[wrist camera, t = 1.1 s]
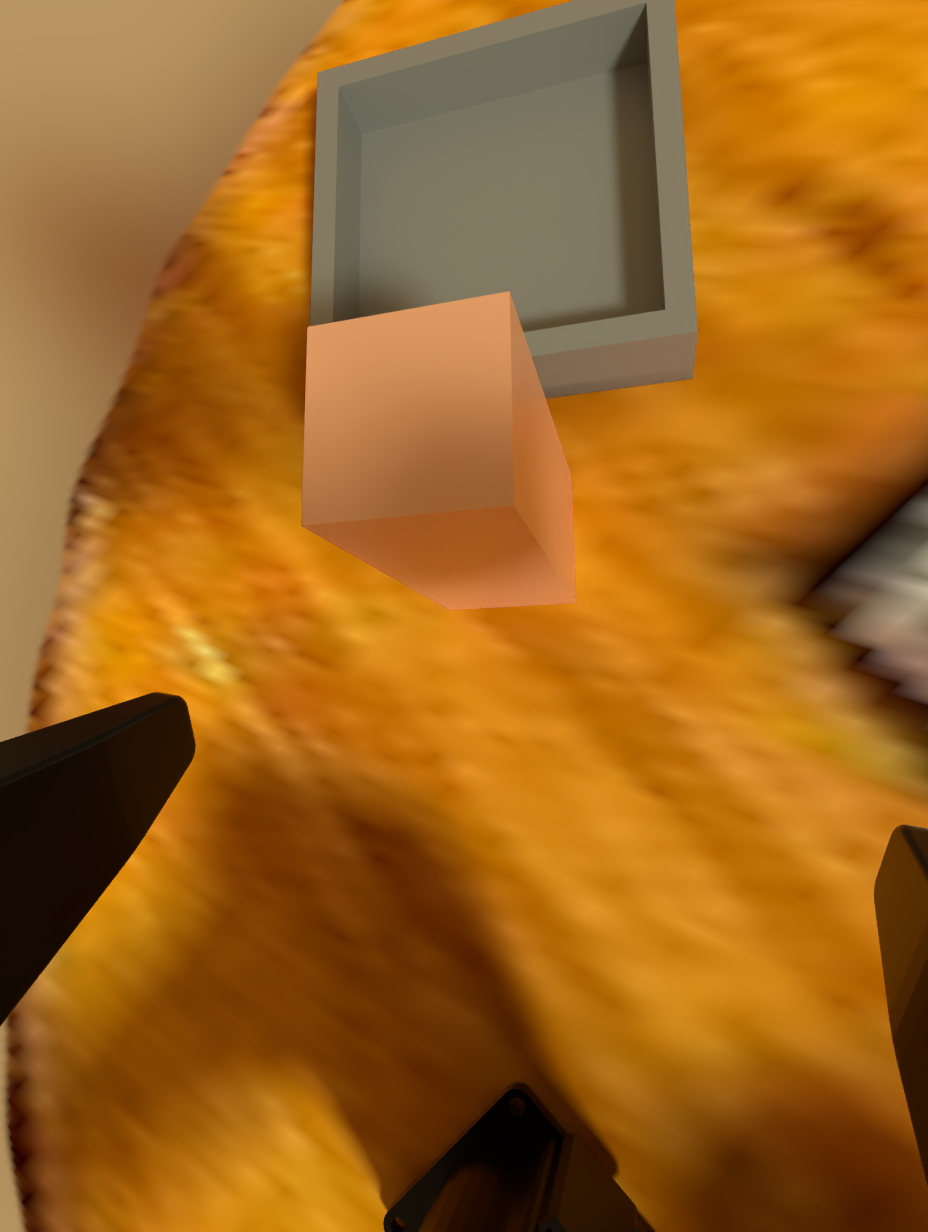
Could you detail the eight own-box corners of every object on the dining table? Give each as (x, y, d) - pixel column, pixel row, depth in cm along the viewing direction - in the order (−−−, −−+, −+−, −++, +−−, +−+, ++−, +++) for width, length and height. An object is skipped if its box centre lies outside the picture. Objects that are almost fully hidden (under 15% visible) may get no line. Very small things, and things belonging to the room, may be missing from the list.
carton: (576, 603, 24) (514, 505, 13) (449, 609, 25) (301, 526, 15) (571, 476, 25) (509, 290, 14) (448, 489, 26) (307, 327, 15)
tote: (692, 378, 24) (697, 331, 21) (344, 425, 27) (308, 390, 25) (670, 54, 26) (672, -28, 23) (350, 135, 30) (317, 72, 27)
